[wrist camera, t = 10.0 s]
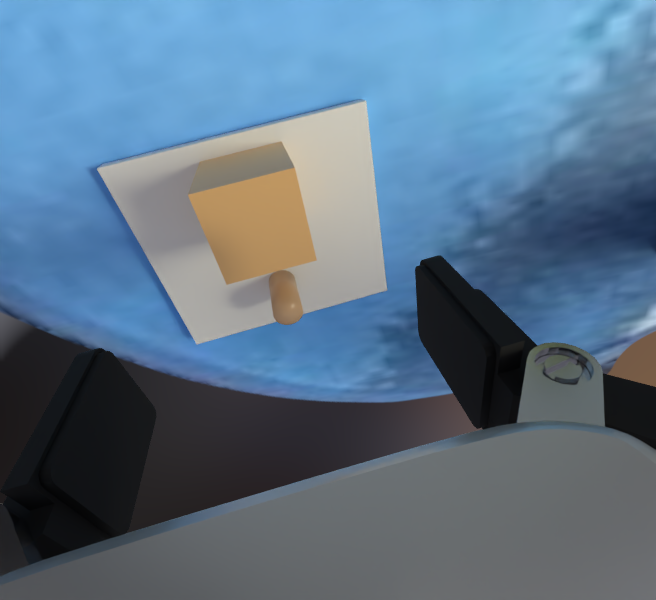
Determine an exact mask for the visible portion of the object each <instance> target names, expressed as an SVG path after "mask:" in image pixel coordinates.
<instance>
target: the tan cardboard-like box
mask: <svg viewBox="0 0 656 600" xmlns="http://www.w3.org/2000/svg"><path fill="white" fill-rule="evenodd" d="M188 197H189V199H190V201H191V204H192V206H193V208H194V211H195V213H196V215H197V217H198V220H199V222H200V224H201V227H202V229H203V231H204V234H205V236H206V238H207V241H208V243H209V245H210V247H211V250H212V252H213V254H214V257H215V259H216V261H217V264H218V266H219V268H220V271H221V273H222V275H223V277H224V280H225V282H226V284H227V285H228V284H232V283H235V282H239V281H243V280H246V279H250V278H254V277H257V276H261V275H265V274H268V273H272V272H276V271H279V270H283V269H287V268H290V267H294V266H298V265H302V264H305V263H309V262H313V261H316V260H317V259H316V255H315V250H314V246H313V242H312V238H311V234H310V229H309V225H308V221H307V217H306V213H305V208H304V204H303V200H302V196H301V191H300V187H299V183H298V179H297V175H296V170H295V167H294V165H293V163H292V161H291V159H290V157H289V155H288V153H287V151H286V149H285V147H284V145H283V143H282V141H281V142H277V143H273V144H269V145H265V146H261V147H257V148H253V149H249V150H245V151H241V152H237V153H233V154H229V155H225V156H221V157H217V158H213V159H209V160H205V161H201V162H199V165H198V168H197V171H196V173H195V176H194V179H193V182H192V184H191V187H190V190H189V193H188Z"/></svg>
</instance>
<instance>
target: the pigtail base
mask: <svg viewBox="0 0 656 600" xmlns="http://www.w3.org/2000/svg"><path fill="white" fill-rule="evenodd" d="M281 141H282V143H283V145H284V147H285V149H286V151H287V153H288V155H289V157H290V159H291V161H292V163H293V165H294V167H295V170H296V175H297V179H298V183H299V187H300V191H301V196H302V200H303V204H304V208H305V213H306V217H307V221H308V225H309V229H310V234H311V238H312V242H313V246H314V250H315V255H316V259H317V260H316V261H313V262H309V263H305V264H302V265H298V266H294V267H290V268H287V269H283V270H279V271H276V272H272V273H268V274H265V275H261V276H257V277H254V278H250V279H246V280H243V281H239V282H235V283H232V284H228V285H227V284H226V282H225V280H224V277H223V275H222V273H221V271H220V268H219V266H218V264H217V261H216V259H215V257H214V254H213V252H212V250H211V247H210V245H209V243H208V241H207V238H206V236H205V234H204V231H203V229H202V227H201V224H200V222H199V220H198V217H197V215H196V213H195V211H194V208H193V206H192V204H191V201H190V199H189V197H188V193H189V190H190V187H191V184H192V182H193V179H194V176H195V173H196V171H197V168H198V165H199V162H201V161H205V160H209V159H213V158H217V157H221V156H225V155H229V154H233V153H237V152H241V151H245V150H249V149H253V148H257V147H261V146H265V145H269V144H273V143H277V142H281ZM97 170H98V172H99V173H100V175H101V177H102V179H103V180H104V182H105V184H106V186H107V187H108V189H109V191H110V193H111V195H112V196H113V198H114V200H115V202H116V203H117V205H118V207H119V209H120V210H121V212H122V214H123V216H124V217H125V219H126V221H127V223H128V224H129V226H130V228H131V230H132V231H133V233H134V235H135V237H136V238H137V240H138V242H139V244H140V245H141V247H142V249H143V251H144V253H145V254H146V256H147V258H148V260H149V261H150V263H151V265H152V267H153V268H154V270H155V272H156V274H157V275H158V277H159V279H160V281H161V282H162V284H163V286H164V288H165V289H166V291H167V293H168V295H169V296H170V298H171V300H172V302H173V303H174V305H175V307H176V309H177V311H178V312H179V314H180V316H181V318H182V319H183V321H184V323H185V325H186V326H187V328H188V330H189V332H190V333H191V335H192V337H193V339H194V340H195V342H196V344H200V343H204V342H207V341H211V340H214V339H218V338H221V337H225V336H228V335H232V334H235V333H239V332H242V331H246V330H249V329H253V328H256V327H260V326H263V325H267V324H270V323H274V322H278V323H280V324H284V325H290V324H293V323H296V322H297V321H299V320H300V318H301V317H302V315H303V314H306V313H309V312H313V311H316V310H320V309H323V308H327V307H330V306H334V305H337V304H341V303H344V302H348V301H351V300H355V299H358V298H362V297H365V296H369V295H373V294H376V293H380V292H383V291H387V285H386V276H385V267H384V258H383V249H382V240H381V231H380V222H379V213H378V204H377V195H376V186H375V177H374V168H373V159H372V150H371V141H370V132H369V123H368V114H367V105H366V101H365V100H362V99H360V100H356V101H352V102H348V103H344V104H340V105H336V106H332V107H328V108H324V109H320V110H316V111H312V112H308V113H304V114H300V115H296V116H292V117H289V118H285V119H281V120H277V121H273V122H269V123H265V124H261V125H257V126H253V127H249V128H245V129H241V130H237V131H233V132H229V133H225V134H221V135H217V136H213V137H209V138H205V139H201V140H197V141H193V142H189V143H185V144H181V145H177V146H173V147H169V148H165V149H161V150H157V151H153V152H149V153H145V154H141V155H137V156H133V157H129V158H125V159H121V160H117V161H113V162H109V163H105V164H102V165H101V166H99V167H98V168H97Z"/></svg>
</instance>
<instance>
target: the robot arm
mask: <svg viewBox="0 0 656 600" xmlns="http://www.w3.org/2000/svg"><path fill="white" fill-rule="evenodd" d="M415 275H416V294H417V313H418V331H419V336H420V339H421V342H422V343H423V345H424V347H425V348H426V350H427V351H428V353H429V355H430V356H431V358H432V359H433V361H434V363H435V364H436V366H437V367H438V369H439V371H440V372H441V374H442V376H443V377H444V379H445V380H446V382H447V384H448V385H449V387H450V388H451V390H452V392H453V393H454V395H455V396H456V398H457V400H458V401H459V403H460V404H461V406H462V408H463V409H464V411H465V412H466V414H467V416H468V417H469V419H470V421H471V422H472V424H473V425H474V426H475V427H476V428H477V429H478V428H482V429H483V430H479V431H474V432H470V433H467V434H463V435H460V436H456V437H452V438H448V439H445V440H442V441H437V442H434V443H430V444H427V445H423V446H419V447H416V448H412V449H409V450H405V451H402V452H399V453H395V454H392V455H388V456H385V457H381V458H378V459H375V460H371V461H368V462H364V463H361V464H357V465H354V466H351V467H347V468H344V469H340V470H337V471H333V472H330V473H327V474H324V475H320V476H316V477H313V478H310V479H306V480H303V481H300V482H297V483H293V484H290V485H286V486H283V487H279V488H276V489H273V490H269V491H266V492H263V493H259V494H256V495H253V496H250V497H246V498H243V499H239V500H236V501H233V502H229V503H226V504H223V505H219V506H216V507H212V508H209V509H206V510H203V511H199V512H196V513H193V514H189V515H186V516H183V517H179V518H176V519H173V520H170V521H167V522H163V523H160V524H156V525H153V526H150V527H147V528H143V529H140V530H137V531H133V532H130V533H127V534H125V533H126V532H127V530H128V529H129V527H130V523H131V519H132V515H133V511H134V507H135V502H136V498H137V494H138V490H139V486H140V481H141V478H142V473H143V470H144V465H145V461H146V457H147V453H148V449H149V445H150V441H151V437H152V433H153V428H154V424H155V420H156V410H155V408H154V406H153V405H152V403H151V402H150V401H149V400H148V398H147V397H146V396H145V394H144V393H143V392H142V391H141V389H140V388H139V387H138V385H137V384H136V383H135V381H134V380H133V379H132V378H131V376H130V375H129V374H128V373H127V371H126V370H125V369H124V367H123V366H122V365H121V363H120V362H119V361H118V360H117V358H116V357H115V356H114V354H113V353H112V352H110V351H105V350H104V349H102V348H98V349H94V350H90V351H87V352H83V353H80V354H78V355H77V356H76V357H75V359H74V361H73V362H72V364H71V366H70V368H69V370H68V371H67V373H66V375H65V377H64V379H63V380H62V382H61V384H60V386H59V387H58V389H57V391H56V393H55V395H54V397H53V398H52V400H51V402H50V403H49V405H48V407H47V409H46V411H45V412H44V414H43V416H42V418H41V419H40V421H39V423H38V425H37V427H36V429H35V430H34V432H33V434H32V435H31V437H30V439H29V441H28V443H27V444H26V446H25V448H24V450H23V452H22V453H21V455H20V457H19V459H18V461H17V462H16V464H15V466H14V468H13V469H12V471H11V473H10V475H9V477H8V479H7V480H6V482H5V484H4V486H3V487H2V489H1V491H0V492H2V493H3V494H5V495H7V498H6V500H5V501H4V503H3V504H0V600H656V387H653V386H650V385H646V384H642V383H638V382H634V381H630V380H626V379H622V378H619V377H614V376H611V375H607V374H603V372H602V369H601V365H600V364H599V363H598V361H597V360H596V359H595V358H594V357H593V356H592V355H590V354H589V353H588V352H586V351H584V350H582V349H580V348H578V347H576V346H572V345H569V344H565V343H554V342H553V343H544V344H541V345H538V346H537V345H536V344H535V343H534V342H533V341H532V340H531V339H530V338H529V337H528V336H527V335H526V334H525V333H524V332H523V331H522V330H521V329H520V328H519V327H518V326H517V325H516V324H515V323H514V322H513V321H512V320H511V319H510V318H509V317H508V316H507V315H506V314H505V313H504V312H503V311H502V310H501V309H500V308H499V307H498V306H497V305H496V304H495V303H494V302H493V301H492V300H491V299H490V298H489V297H487V296H486V295H485V294H484V293H483V292H482V291H481V290H478V289H475V290H474V289H473V288H472V287H471V285H470V284H469V283H468V282H467V281H466V280H465V279H464V278H463V277H462V276H461V275H460V274H459V273H458V272H457V271H456V270H455V269H454V268H453V267H452V266H451V265H450V264H449V263H448V262H447V261H446V260H445V259H444V258H443V257H442V256H435V257H431V258H428V259H424V260H422V261H421V262H420V266H417V267H416V268H415Z"/></svg>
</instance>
